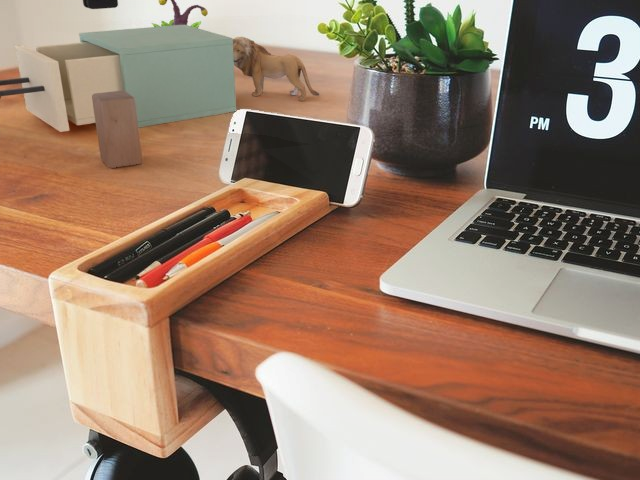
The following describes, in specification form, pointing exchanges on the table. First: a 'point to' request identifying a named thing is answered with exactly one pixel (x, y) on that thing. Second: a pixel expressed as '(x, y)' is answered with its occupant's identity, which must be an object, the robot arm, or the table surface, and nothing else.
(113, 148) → the wooden block
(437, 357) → the table surface
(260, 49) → the lion figurine
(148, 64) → the cabinet
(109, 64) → the drawer
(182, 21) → the plant
